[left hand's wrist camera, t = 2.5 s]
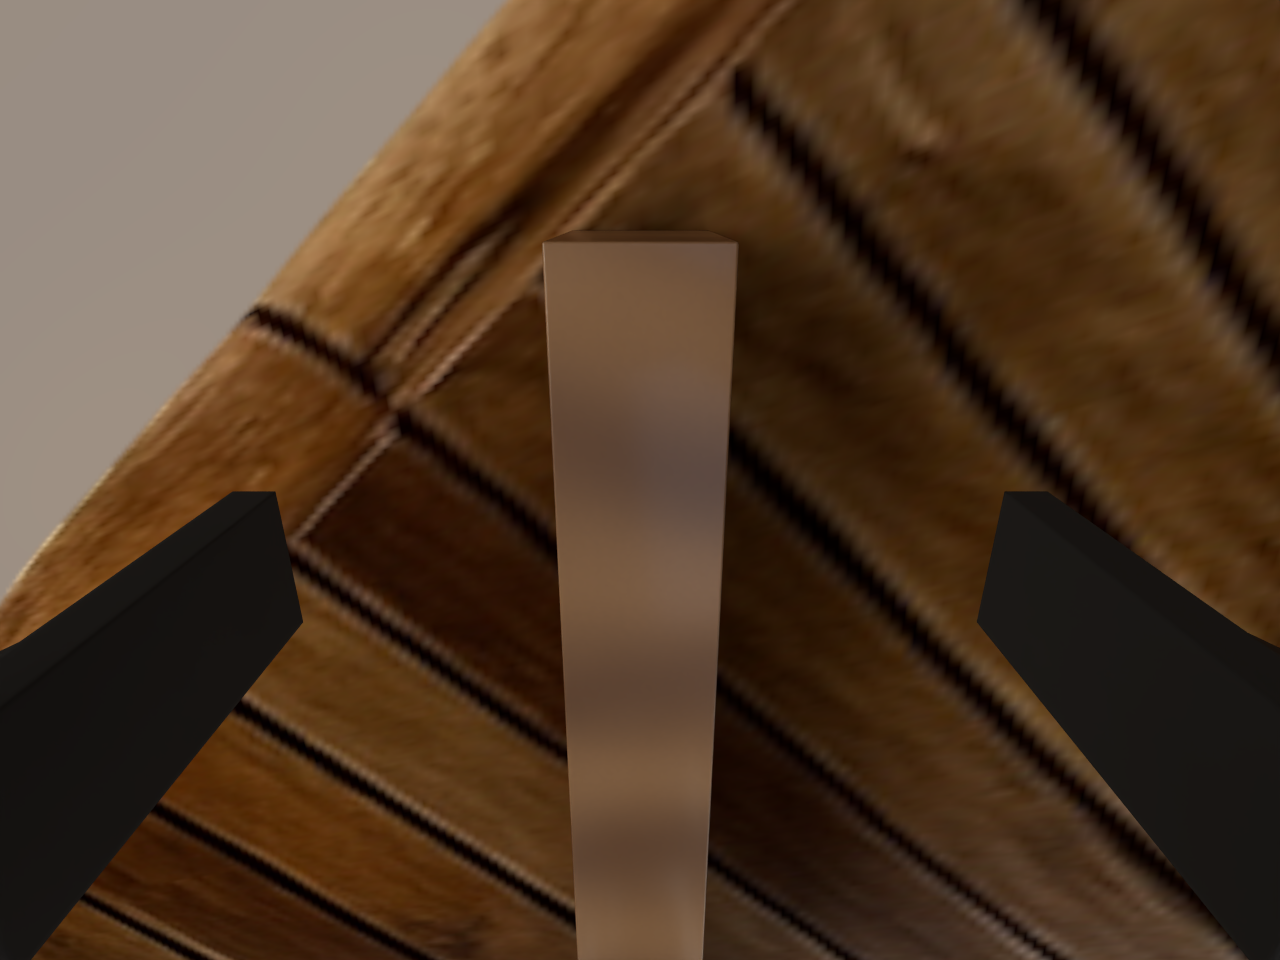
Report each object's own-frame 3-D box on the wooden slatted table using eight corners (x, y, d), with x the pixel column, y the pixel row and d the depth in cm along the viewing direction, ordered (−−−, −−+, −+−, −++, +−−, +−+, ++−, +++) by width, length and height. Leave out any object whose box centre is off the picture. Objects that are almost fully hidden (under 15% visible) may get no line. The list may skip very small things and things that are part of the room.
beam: (570, 230, 25) (541, 241, 17) (709, 230, 25) (739, 241, 17) (603, 1160, 47) (596, 1339, 39) (676, 1160, 47) (683, 1339, 39)
